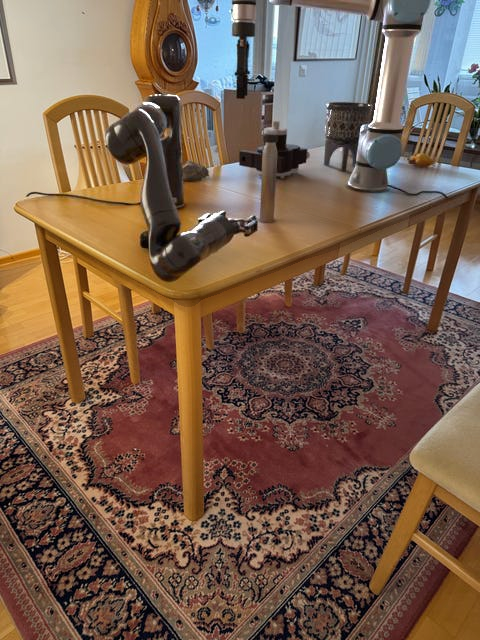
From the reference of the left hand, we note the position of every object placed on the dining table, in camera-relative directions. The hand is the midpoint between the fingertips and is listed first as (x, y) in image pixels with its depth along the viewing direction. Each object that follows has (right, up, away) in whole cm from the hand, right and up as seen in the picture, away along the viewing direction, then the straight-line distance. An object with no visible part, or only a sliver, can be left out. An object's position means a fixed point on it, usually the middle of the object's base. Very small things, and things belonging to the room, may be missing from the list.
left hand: (239, 216), depth 119 cm
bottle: (+8, +4, +21) cm, 23 cm away
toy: (+86, +46, +97) cm, 138 cm away
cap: (+9, +25, +9) cm, 28 cm away
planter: (+47, +44, +92) cm, 113 cm away
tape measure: (-22, -9, -1) cm, 23 cm away
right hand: (+1, +48, +34) cm, 59 cm away
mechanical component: (+18, +37, +78) cm, 88 cm away
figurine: (+57, +60, +120) cm, 146 cm away
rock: (-18, +30, +66) cm, 74 cm away
